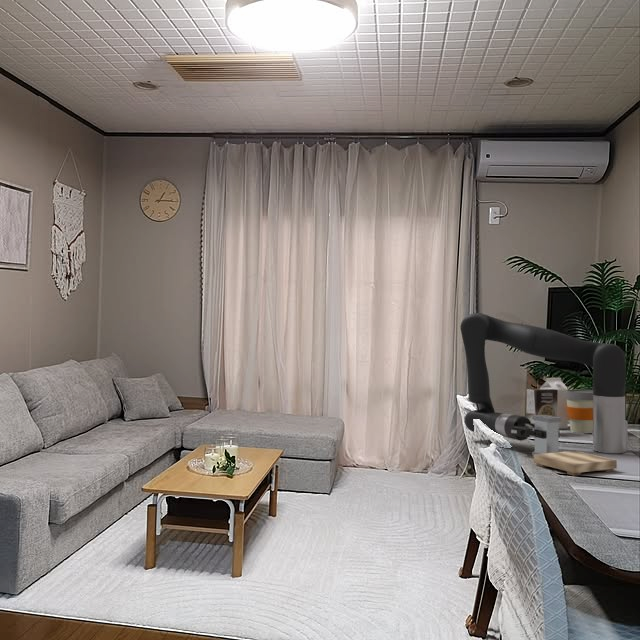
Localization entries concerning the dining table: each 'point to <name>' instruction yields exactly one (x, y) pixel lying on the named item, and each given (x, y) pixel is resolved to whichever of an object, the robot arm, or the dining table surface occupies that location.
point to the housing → (547, 434)
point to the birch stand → (575, 462)
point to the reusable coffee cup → (580, 410)
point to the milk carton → (559, 399)
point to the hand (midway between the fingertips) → (551, 434)
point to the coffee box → (541, 402)
